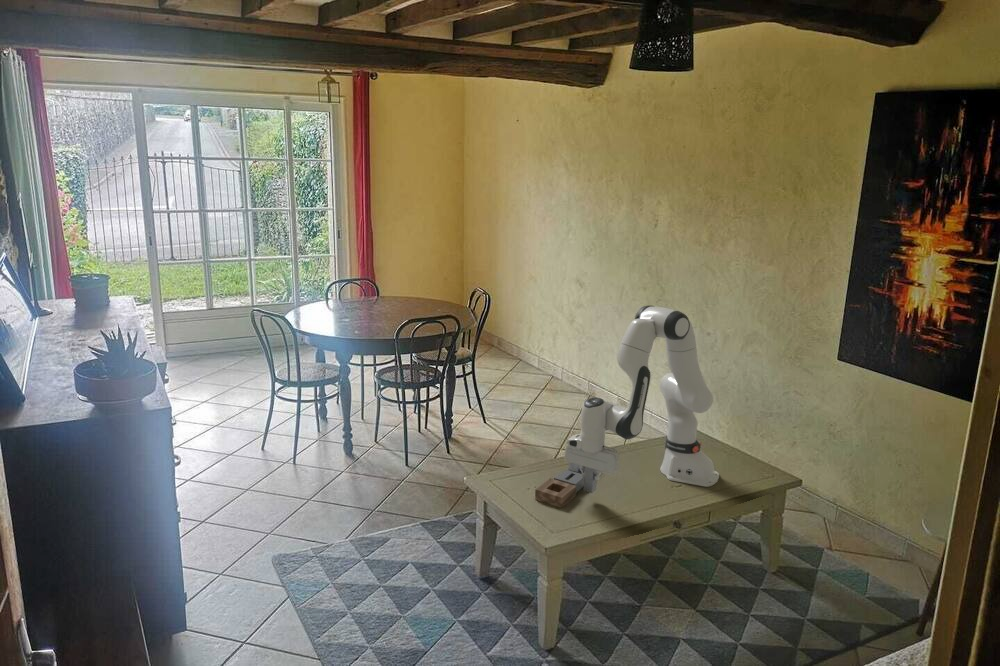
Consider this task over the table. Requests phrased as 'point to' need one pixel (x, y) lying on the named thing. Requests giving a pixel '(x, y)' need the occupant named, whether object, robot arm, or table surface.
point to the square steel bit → (589, 480)
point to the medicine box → (573, 467)
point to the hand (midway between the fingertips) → (590, 478)
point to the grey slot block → (571, 478)
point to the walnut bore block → (555, 492)
